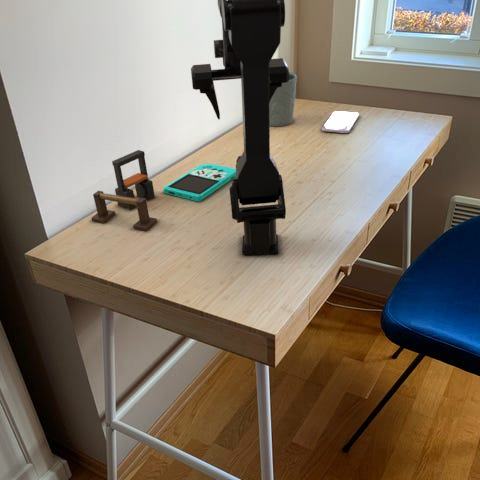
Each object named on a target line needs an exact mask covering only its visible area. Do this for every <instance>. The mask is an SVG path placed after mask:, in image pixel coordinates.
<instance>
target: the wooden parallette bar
mask: <svg viewBox="0 0 480 480" xmlns="http://www.w3.org/2000/svg"><path fill="white" fill-rule="evenodd" d="M92 196H93V200H94V201H93V202H94V204H95V208H96V209H95V210H96V214H94V215H93V216H92V217H91V221H92V222H94V223H95V222H96V223H100V224H101V223H102V224H105V223H106V222H107V221H109V220H110V219H112V218H113V217H114V216H115V215H116V211H115V210H110V209H108V207H107V203H106V201H110V202H116V203H118V202H121V203H127V204H133V205H136V209H137V215H138V221H136V222H135V223H134V224H133V225H132V226H133V230H139V231H144V232H147V231H149V230H150V229H151V228H152V227H153V226H154V225H156V224H157V222H158V219H157V217H150V213H149V208H148V200H146V198H141V197H139V198H137V197H135V198H130V197H124V196H117V195H116V194H110V193H106V192H105V193H104V191H102V190H97V191H96V192H94V193H93V194H92Z"/></svg>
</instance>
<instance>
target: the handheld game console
mask: <svg viewBox="0 0 480 480" xmlns="http://www.w3.org/2000/svg"><path fill="white" fill-rule="evenodd" d="M235 178H236V167H229V166H225V165H219V164H213V163H202V164H200V165H198V166H196V167H195V168H193V169H191V170H190V171H188V172H187V173H185V174H183V175H182V176H180V177H178V178H176V179H175V180H173V181H172V182H170V183H169V184H167V185H165V186H164V187H163V193H164V194H166V195H170V196H174V197H178V198H182V199H185V200H191V201H195V202H201V201H203V200H204V199H206V198H207V197H208V196H210V195H211V194H213V193H215V191H217V190H218V189H220V188H222V187H223V186H224V185H226V184H227V183H228V182H230V181H232V180H233V179H235Z"/></svg>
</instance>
